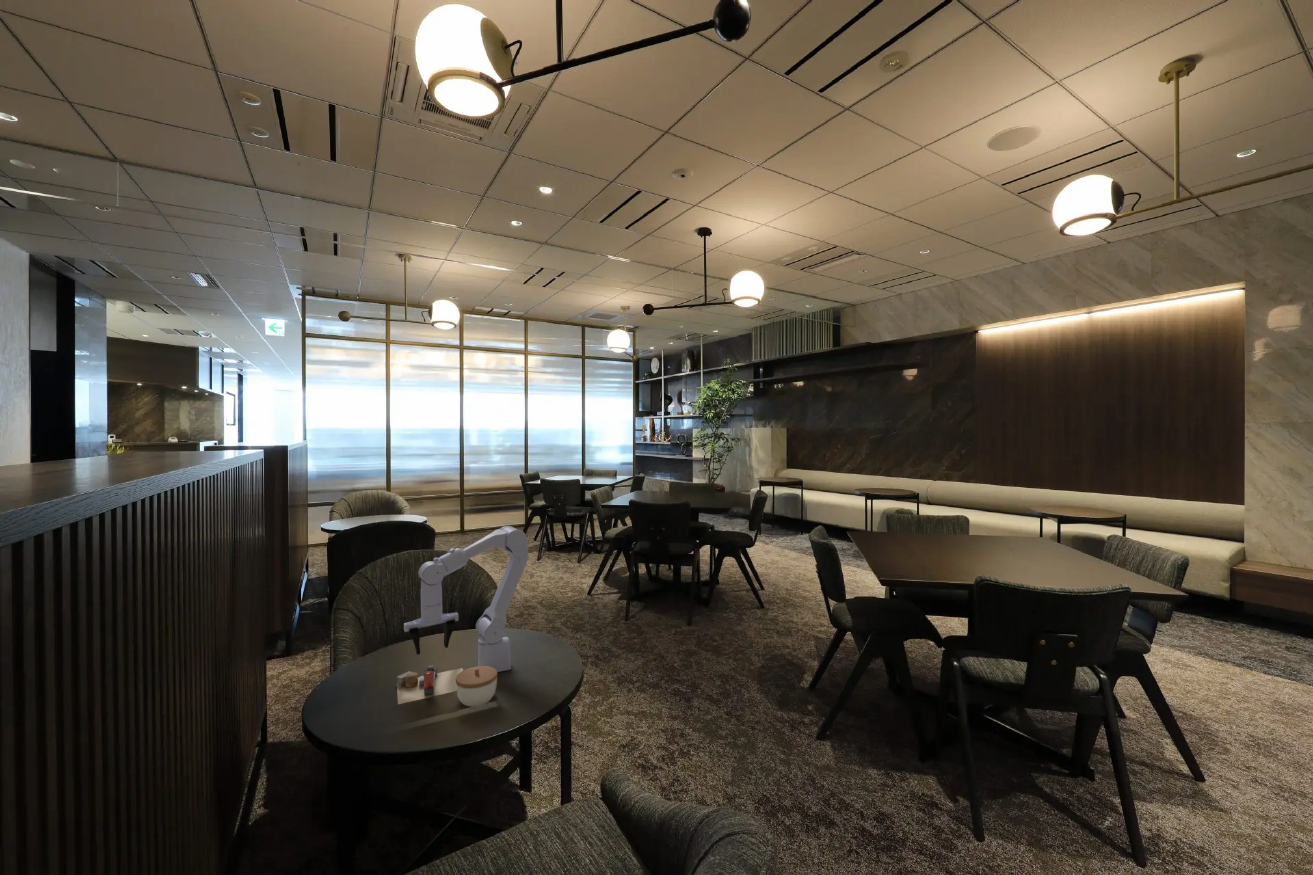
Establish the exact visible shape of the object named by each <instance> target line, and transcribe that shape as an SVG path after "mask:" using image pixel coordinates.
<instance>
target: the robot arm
mask: <svg viewBox="0 0 1313 875" xmlns="http://www.w3.org/2000/svg"><path fill="white" fill-rule="evenodd" d="M528 544H529V538H528V537H527V535H526V534H525V532H524V531H523V530H522V529H519V528H515V527H514V526H512V525H504V526H502V527H501V528H498V529H495V530H493V532H491V533H489V534H487V535H486V536H484V537H483V538H480V539H479V540H477V541H475V542H474V543H472V544H470V545H469V546H466V547H465V548H463V549H462V548H460V547H458V548H457V547H456V548H453V547H452V548H450V549H449V552H447V553H445V554H443V555H441V556H439V557H436V556H435V557H434V558H433V560H432V561H426V562H424V563H423V564H421V566H420V567H419V569H418V571H417V575H418V578H420V587H421V588H420V618H417V619H415V620H412V621H408V622H404V623H403V630H404V632H405V633H407V632H408V633H409V635H410V638H411V640H412V642H413V644H414V645H413V646H414V649H415V653H416V655H417V656H418V655H421V647H420V646H421V644H420V640H421V639H420V638H421V633H420V630H419V629H421V628H426V627H431V626H436V625H439V624H442V625H443V626H442V627H443V646H444V648H445V649H447V648H448V647H449V644H450V643H449V642H450V639H451V636H452V634H453V631H454V629H455V628H456V622H458V621H459V613H458V612H457V611H455V612H450V613H443V587H442V586H443V585H442V581H443V580H444V578H445V577H446V576H448V575H450V574H452V573H453V572H455V571H457V570H459V569H461V568H463V567H465V566H467V564H468V562H469V560H470V559H472V558H474V557H476V556H478V555H480V554H482V553H484V552H486V551H488V550H490V549H493V548H497V549H498V548H499V549H500V548H501V549H506V553H507V554H508V556H509V560H508V563H507V565H506V568H505V569H504V572H503V575H502V577H501V579H500V582H499V584H498V586H497V589H496V591H495V594H494V596H493V598H492V601H491V603H490V606H488V607H487V608H486V609H484V612H483V613H482V615H481V616H480V617H479V618H478V620H477V621H476V623H475V629H476V632H477V633H478V634H479V637H478V639H477V641H478V642H477V659H478V660H477V663H478V665H477V666H490V667H493V668H495V669H496V670H497V673H499V672H500V673H501V672H504V671H509V670H511V669H512V667H511V642H510V638H509V637H508V636H505V634H506V629H505V628H506V624H507V611H508V608H509V606H510V604H511V601H512V599H513V596H514V594H515V592H516V590H517V587H518V584H519V581H520V579H521V576H522V575H523V573H524V570H525V568H526V565H527V563H528V560H529V550H528V549H529V547H528Z"/></svg>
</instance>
